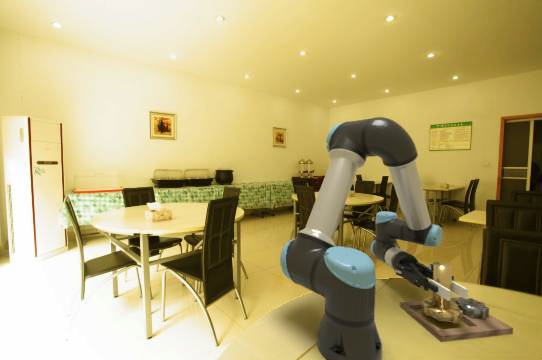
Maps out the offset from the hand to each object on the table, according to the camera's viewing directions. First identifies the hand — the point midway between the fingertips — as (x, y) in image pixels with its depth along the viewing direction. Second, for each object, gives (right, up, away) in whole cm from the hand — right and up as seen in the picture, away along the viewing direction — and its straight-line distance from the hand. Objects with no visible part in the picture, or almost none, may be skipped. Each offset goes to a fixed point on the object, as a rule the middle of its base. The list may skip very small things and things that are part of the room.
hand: (458, 294), depth 68 cm
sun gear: (+9, -8, +7) cm, 14 cm away
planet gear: (-1, -8, +6) cm, 10 cm away
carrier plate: (+3, -10, +6) cm, 12 cm away
